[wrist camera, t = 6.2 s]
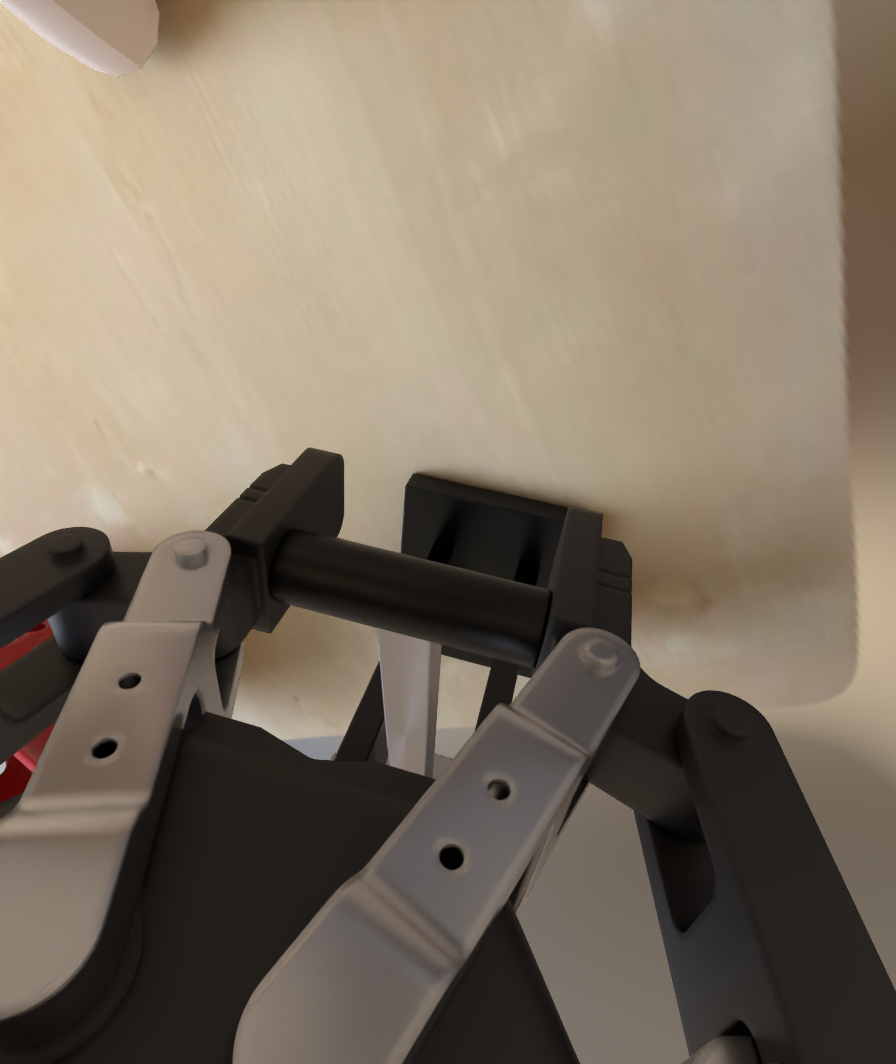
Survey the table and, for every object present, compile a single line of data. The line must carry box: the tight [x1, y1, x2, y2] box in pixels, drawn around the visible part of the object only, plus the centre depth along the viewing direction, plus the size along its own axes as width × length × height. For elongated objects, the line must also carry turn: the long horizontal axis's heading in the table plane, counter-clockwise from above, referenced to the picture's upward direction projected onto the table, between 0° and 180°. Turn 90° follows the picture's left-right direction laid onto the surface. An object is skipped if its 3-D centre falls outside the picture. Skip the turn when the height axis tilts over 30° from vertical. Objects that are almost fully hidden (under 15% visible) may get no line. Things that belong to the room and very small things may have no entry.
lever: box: [269, 529, 552, 779], centre depth 16 cm, size 14×5×2 cm, turn 174°
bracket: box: [330, 473, 568, 764], centre depth 24 cm, size 10×8×14 cm
